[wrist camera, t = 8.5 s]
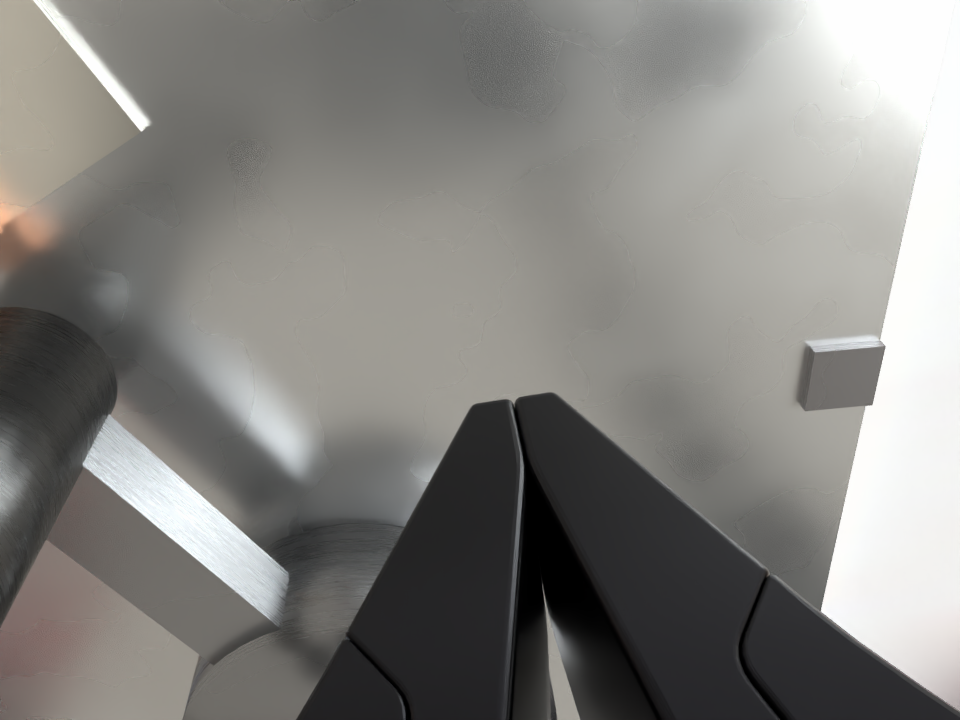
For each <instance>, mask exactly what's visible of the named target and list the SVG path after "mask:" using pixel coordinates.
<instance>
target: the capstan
mask: <svg viewBox="0 0 960 720" xmlns="http://www.w3.org/2000/svg"><path fill="white" fill-rule="evenodd" d="M117 393H118V386H117V378H116V374H115V371H114V368H113V366H112V363H111V361H110V360H109V358H108V356H107V355H106V353H105V352H104V350H103V349H102V348H101V347H100V345H99V344H98V343H97V342H96V341H95V340H94V339H93V338H92V337H91V336H90V335H88V334H87V333H86V332H85V331H84V330H82V329H81V328H79V327H78V326H76V325H75V324H73V323H71V322H69V321H68V320H66V319H64V318H62V317H59V316H57V315H54V314H52V313H49V312H45V311H42V310H38V309H32V308H26V307H1V308H0V628H1V626H2V624H3V622H4V620H5V618H6V616H7V614H8V612H9V610H10V608H11V606H12V605H13V603H14V601H15V599H16V597H17V595H18V593H19V591H20V589H21V587H22V585H23V583H24V581H25V579H26V578H27V576H28V574H29V572H30V570H31V568H32V566H33V564H34V562H35V560H36V558H37V556H38V554H39V552H40V550H41V549H42V547H43V545H44V543H45V541H46V540H48V541H49V542H50V543H52V544H53V545H54V546H56V547H57V548H58V549H60V550H61V551H62V552H64V553H65V554H66V555H68V556H69V557H70V558H72V559H73V560H74V561H76V562H77V563H78V564H80V565H81V566H82V567H84V568H85V569H86V570H88V571H89V572H90V573H92V574H93V575H94V576H95V577H97V578H98V579H99V580H101V581H102V582H103V583H105V584H106V585H107V586H109V587H110V588H111V589H113V590H114V591H115V592H117V593H118V594H119V595H121V596H122V597H123V598H125V599H126V600H127V601H129V602H130V603H131V604H133V605H134V606H135V607H137V608H138V609H139V610H141V611H142V612H143V613H145V614H146V615H147V616H149V617H150V618H151V619H153V620H154V621H155V622H157V623H158V624H159V625H161V626H162V627H163V628H164V629H166V630H167V631H168V632H170V633H171V634H172V635H174V636H175V637H176V638H178V639H179V640H180V641H182V642H183V643H184V644H186V645H187V646H188V647H190V648H191V649H192V650H194V651H195V652H196V653H198V654H199V657H198V661H197V665H196V669H195V672H194V676H193V680H192V684H191V688H190V692H189V696H188V700H187V704H186V708H185V712H184V716H183V719H182V720H296V719H297V717H298V715H299V714H300V712H301V710H302V709H303V707H304V705H305V704H306V702H307V700H308V698H309V697H310V695H311V693H312V692H313V690H314V688H315V687H316V685H317V683H318V682H319V680H320V678H321V677H322V675H323V673H324V671H325V669H326V668H327V666H328V664H329V662H330V660H331V658H332V657H333V655H334V653H335V651H336V649H337V647H338V645H339V644H340V642H341V641H342V640H344V639H346V637H345V635H346V632H347V630H348V628H349V627H350V625H351V623H352V621H353V619H354V617H355V616H356V614H357V612H358V610H359V608H360V607H361V605H362V603H363V601H364V599H365V598H366V596H367V594H368V592H369V590H370V588H371V587H372V585H373V583H374V581H375V579H376V578H377V576H378V574H379V572H380V570H381V568H382V567H383V565H384V563H385V561H386V559H387V558H388V556H389V554H390V552H391V550H392V549H393V547H394V545H395V543H396V541H397V539H398V538H399V536H400V534H401V532H402V530H403V529H404V527H403V526H397V525H391V524H381V523H342V524H335V525H328V526H321V527H317V528H313V529H309V530H305V531H301V532H298V533H295V534H292V535H290V536H287V537H284V538H281V539H279V540H277V541H275V542H273V543H271V544H269V545H267V546H265V547H263V548H262V549H261V548H260V547H259V546H258V545H257V544H256V543H254V542H253V541H252V540H251V539H250V538H249V537H248V536H246V535H245V534H244V533H243V532H242V531H241V530H240V529H238V528H237V527H236V526H235V525H234V524H233V523H232V522H231V521H229V520H228V519H227V518H226V517H225V516H224V515H223V514H221V513H220V512H219V511H218V510H217V509H216V508H215V507H214V506H212V505H211V504H210V503H209V502H208V501H207V500H206V499H204V498H203V497H202V496H201V495H200V494H199V493H198V492H197V491H195V490H194V489H193V488H192V487H191V486H190V485H189V484H187V483H186V482H185V481H184V480H183V479H182V478H181V477H179V476H178V475H177V474H176V473H175V472H174V471H173V470H172V469H170V468H169V467H168V466H167V465H166V464H165V463H164V462H162V461H161V460H160V459H159V458H158V457H157V456H156V455H155V454H153V453H152V452H151V451H150V450H149V449H148V448H147V447H145V446H144V445H143V444H142V443H141V442H140V441H139V440H138V439H136V438H135V437H134V436H133V435H132V434H131V433H130V432H128V431H127V430H126V429H125V428H124V427H123V426H122V425H120V424H119V423H118V422H117V421H116V420H115V419H114V418H113V417H111V416H110V415H111V413H112V411H113V409H114V407H115V404H116V400H117ZM549 680H550V707H551V720H557V713H556V706H555V700H554V694H553V689H552V683H551V677H550V671H549Z"/></svg>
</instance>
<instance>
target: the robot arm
mask: <svg viewBox="0 0 960 720" xmlns="http://www.w3.org/2000/svg"><path fill="white" fill-rule="evenodd" d="M514 407H515V408H514ZM542 585H543V586H542ZM543 591H544V594H543ZM544 596H545V601H546V605H547V610H548V615H549V618H550V622H551V626H552V629H553V633H554V637H555V640H556V643H557V646H558V649H559V653H560V656H561V659H562V662H563V666H564V669H565V672H566V675H567V679H568V682H569V685H570V688H571V691H572V695H573V698H574V701H575V704H576V708H577V711H578V714H579V717H580V720H960V711H959V710H957V709H956V708H954V707H953V706H951V705H950V704H948V703H947V702H945V701H944V700H942V699H941V698H939V697H938V696H936V695H935V694H933V693H932V692H930V691H929V690H927V689H926V688H924V687H923V686H921V685H920V684H919V683H917V682H916V681H914V680H913V679H911V678H910V677H909V676H907V675H906V674H904V673H903V672H902V671H900V670H899V669H897V668H896V667H894V666H893V665H892V664H890V663H889V662H887V661H886V660H884V659H883V658H882V657H880V656H879V655H877V654H876V653H875V652H873V651H872V650H870V649H869V648H867V647H866V646H865V645H863V644H862V643H860V642H859V641H857V640H856V639H855V638H854V637H852V636H851V635H850V634H849V633H847V632H846V631H845V630H843V629H842V628H841V627H840V626H838V625H837V624H836V623H834V622H833V621H832V620H831V619H829V618H828V617H827V616H826V615H824V614H823V613H822V612H820V611H819V610H818V609H817V608H815V607H814V606H813V605H811V604H810V603H809V602H808V601H806V600H805V599H804V598H803V597H802V596H800V595H799V594H798V593H797V592H796V591H794V590H793V589H792V588H791V587H789V586H788V585H787V584H786V583H785V582H783V581H782V580H781V579H780V578H779V577H777V576H776V575H769V570H768V569H767V568H766V567H765V566H764V565H762V564H761V563H760V562H759V561H758V560H756V559H755V558H754V557H753V556H752V555H750V554H749V553H748V552H747V551H746V550H744V549H743V548H742V547H741V546H740V545H738V544H737V543H736V542H735V541H734V540H732V539H731V538H730V537H729V536H727V535H726V534H725V533H724V532H723V531H721V530H720V529H719V528H718V527H717V526H715V525H714V524H713V523H712V522H711V521H709V520H708V519H707V518H706V517H705V516H703V515H702V514H701V513H700V512H699V511H697V510H696V509H695V508H694V507H693V506H691V505H690V504H689V503H688V502H687V501H685V500H684V499H683V498H682V497H680V496H679V495H678V494H677V493H676V492H674V491H673V490H672V489H671V488H670V487H668V486H667V485H666V484H665V483H664V482H662V481H661V480H660V479H659V478H658V477H656V476H655V475H654V474H653V473H652V472H650V471H649V470H648V469H647V468H646V467H644V466H643V465H642V464H641V463H639V462H638V461H637V460H636V459H635V458H633V457H632V456H631V455H630V454H629V453H627V452H626V451H625V450H624V449H623V448H621V447H620V446H619V445H618V444H617V443H615V442H614V441H613V440H612V439H611V438H609V437H608V436H607V435H606V434H605V433H603V432H602V431H601V430H600V429H599V428H597V427H596V426H595V425H594V424H592V423H591V422H590V421H589V420H588V419H586V418H585V417H584V416H583V415H582V414H580V413H579V412H578V411H577V410H576V409H574V408H573V407H572V406H571V405H570V404H568V403H567V402H566V401H565V400H564V399H562V398H561V397H560V396H559V395H557V394H556V393H553V392H547V393H541V394H534V395H528V396H522V397H518V398H517V399H516V400H515V403H514V404H513V402H512V401H511V400H508V399H502V400H496V401H489V402H482V403H476V404H474V405H472V406H471V407H470V409H469V411H468V413H467V414H466V416H465V418H464V420H463V422H462V423H461V425H460V427H459V429H458V431H457V432H456V434H455V436H454V438H453V440H452V442H451V443H450V445H449V447H448V449H447V451H446V452H445V454H444V456H443V458H442V460H441V461H440V463H439V465H438V467H437V469H436V471H435V472H434V474H433V476H432V478H431V480H430V481H429V483H428V485H427V487H426V489H425V491H424V492H423V494H422V496H421V498H420V500H419V501H418V503H417V505H416V507H415V509H414V510H413V512H412V514H411V516H410V518H409V520H408V521H407V523H406V525H405V527H404V529H403V530H402V532H401V534H400V536H399V538H398V539H397V541H396V543H395V545H394V547H393V549H392V550H391V552H390V554H389V556H388V558H387V559H386V561H385V563H384V565H383V567H382V568H381V570H380V572H379V574H378V576H377V578H376V579H375V581H374V583H373V585H372V587H371V588H370V590H369V592H368V594H367V596H366V598H365V599H364V601H363V603H362V605H361V607H360V608H359V610H358V612H357V614H356V616H355V617H354V619H353V621H352V623H351V625H350V627H349V628H348V630H347V632H346V635H345V637H346V639H344V640H342V641H341V642H340V644H339V645H338V647H337V649H336V651H335V653H334V655H333V657H332V658H331V660H330V662H329V664H328V666H327V668H326V669H325V671H324V673H323V675H322V677H321V678H320V680H319V682H318V683H317V685H316V687H315V688H314V690H313V692H312V693H311V695H310V697H309V698H308V700H307V702H306V704H305V705H304V707H303V709H302V710H301V712H300V714H299V715H298V717H297V719H296V720H551V707H550V680H549V654H548V632H547V618H546V609H545V601H544Z"/></svg>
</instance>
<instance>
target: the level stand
mask: <svg viewBox="0 0 960 720" xmlns="http://www.w3.org/2000/svg"><path fill="white" fill-rule="evenodd" d="M953 3H954V0H0V308H1V307H26V308H32V309H38V310H42V311H45V312H49V313H52V314H54V315H57V316H59V317H62V318H64V319H66V320H68V321H69V322H71V323H73V324H75V325H76V326H78V327H79V328H81V329H82V330H84V331H85V332H86V333H87V334H88V335H90V336H91V337H92V338H93V339H94V340H95V341H96V342H97V343H98V344H99V345H100V347H101V348H102V349H103V350H104V352H105V353H106V355H107V356H108V358H109V360H110V361H111V363H112V366H113V368H114V371H115V374H116V378H117V386H118V393H117V400H116V404H115V407H114V409H113V411H112V413H111V415H110V416H111V417H113V418H114V419H115V420H116V421H117V422H118V423H119V424H120V425H122V426H123V427H124V428H125V429H126V430H127V431H128V432H130V433H131V434H132V435H133V436H134V437H135V438H136V439H138V440H139V441H140V442H141V443H142V444H143V445H144V446H145V447H147V448H148V449H149V450H150V451H151V452H152V453H153V454H155V455H156V456H157V457H158V458H159V459H160V460H161V461H162V462H164V463H165V464H166V465H167V466H168V467H169V468H170V469H172V470H173V471H174V472H175V473H176V474H177V475H178V476H179V477H181V478H182V479H183V480H184V481H185V482H186V483H187V484H189V485H190V486H191V487H192V488H193V489H194V490H195V491H197V492H198V493H199V494H200V495H201V496H202V497H203V498H204V499H206V500H207V501H208V502H209V503H210V504H211V505H212V506H214V507H215V508H216V509H217V510H218V511H219V512H220V513H221V514H223V515H224V516H225V517H226V518H227V519H228V520H229V521H231V522H232V523H233V524H234V525H235V526H236V527H237V528H238V529H240V530H241V531H242V532H243V533H244V534H245V535H246V536H248V537H249V538H250V539H251V540H252V541H253V542H254V543H256V544H257V545H258V546H259V547H260V548H261V549H262V548H263V547H265V546H267V545H269V544H271V543H273V542H275V541H277V540H279V539H281V538H284V537H287V536H290V535H292V534H295V533H298V532H301V531H305V530H309V529H313V528H317V527H321V526H328V525H335V524H342V523H381V524H391V525H397V526H403V527H405V525H406V523H407V521H408V520H409V518H410V516H411V514H412V512H413V510H414V509H415V507H416V505H417V503H418V501H419V500H420V498H421V496H422V494H423V492H424V491H425V489H426V487H427V485H428V483H429V481H430V480H431V478H432V476H433V474H434V472H435V471H436V469H437V467H438V465H439V463H440V461H441V460H442V458H443V456H444V454H445V452H446V451H447V449H448V447H449V445H450V443H451V442H452V440H453V438H454V436H455V434H456V432H457V431H458V429H459V427H460V425H461V423H462V422H463V420H464V418H465V416H466V414H467V413H468V411H469V409H470V407H471V406H472V405H474V404H476V403H482V402H489V401H496V400H502V399H508V400H511V401H512V402H513V404H514V403H515V400H516V399H517V398H518V397H522V396H528V395H534V394H541V393H547V392H553V393H556V394H557V395H559V396H560V397H561V398H562V399H564V400H565V401H566V402H567V403H568V404H570V405H571V406H572V407H573V408H574V409H576V410H577V411H578V412H579V413H580V414H582V415H583V416H584V417H585V418H586V419H588V420H589V421H590V422H591V423H592V424H594V425H595V426H596V427H597V428H599V429H600V430H601V431H602V432H603V433H605V434H606V435H607V436H608V437H609V438H611V439H612V440H613V441H614V442H615V443H617V444H618V445H619V446H620V447H621V448H623V449H624V450H625V451H626V452H627V453H629V454H630V455H631V456H632V457H633V458H635V459H636V460H637V461H638V462H639V463H641V464H642V465H643V466H644V467H646V468H647V469H648V470H649V471H650V472H652V473H653V474H654V475H655V476H656V477H658V478H659V479H660V480H661V481H662V482H664V483H665V484H666V485H667V486H668V487H670V488H671V489H672V490H673V491H674V492H676V493H677V494H678V495H679V496H680V497H682V498H683V499H684V500H685V501H687V502H688V503H689V504H690V505H691V506H693V507H694V508H695V509H696V510H697V511H699V512H700V513H701V514H702V515H703V516H705V517H706V518H707V519H708V520H709V521H711V522H712V523H713V524H714V525H715V526H717V527H718V528H719V529H720V530H721V531H723V532H724V533H725V534H726V535H727V536H729V537H730V538H731V539H732V540H734V541H735V542H736V543H737V544H738V545H740V546H741V547H742V548H743V549H744V550H746V551H747V552H748V553H749V554H750V555H752V556H753V557H754V558H755V559H756V560H758V561H759V562H760V563H761V564H762V565H764V566H765V567H766V568H767V569H768V570H769V575H776V576H777V577H779V578H780V579H781V580H782V581H783V582H785V583H786V584H787V585H788V586H789V587H791V588H792V589H793V590H794V591H796V592H797V593H798V594H799V595H800V596H802V597H803V598H804V599H805V600H806V601H808V602H809V603H810V604H811V605H813V606H814V607H815V608H817V609H818V610H819V611H821V607H822V602H823V597H824V593H825V588H826V584H827V579H828V575H829V570H830V565H831V561H832V556H833V552H834V547H835V543H836V538H837V533H838V529H839V524H840V520H841V515H842V511H843V506H844V501H845V497H846V492H847V488H848V483H849V479H850V474H851V469H852V465H853V460H854V456H855V451H856V447H857V442H858V437H859V433H860V428H861V424H862V419H863V415H864V410H865V406H868V405H872V404H873V400H874V395H875V391H876V386H877V382H878V377H879V373H880V368H881V364H882V360H883V355H884V351H885V345H884V344H883V343H882V342H881V341H880V337H881V332H882V328H883V323H884V319H885V314H886V309H887V305H888V300H889V296H890V291H891V287H892V282H893V278H894V273H895V268H896V264H897V259H898V255H899V250H900V246H901V241H902V236H903V232H904V227H905V223H906V218H907V214H908V209H909V204H910V200H911V195H912V191H913V186H914V182H915V177H916V172H917V168H918V163H919V159H920V154H921V150H922V145H923V140H924V136H925V131H926V127H927V122H928V118H929V113H930V108H931V104H932V99H933V95H934V90H935V86H936V81H937V76H938V72H939V67H940V63H941V58H942V54H943V49H944V44H945V40H946V35H947V31H948V26H949V22H950V17H951V12H952V8H953ZM514 408H515V407H514ZM542 586H543V585H542ZM543 594H544V591H543ZM544 601H545V596H544ZM545 609H546V618H547V632H548V654H549V671H550V677H551V683H552V689H553V694H554V700H555V706H556V713H557V720H580V717H579V714H578V711H577V708H576V704H575V701H574V698H573V695H572V691H571V688H570V685H569V682H568V679H567V675H566V672H565V669H564V666H563V662H562V659H561V656H560V653H559V649H558V646H557V643H556V640H555V637H554V633H553V629H552V626H551V622H550V618H549V615H548V610H547V605H546V601H545ZM198 657H199V654H198V653H196V652H195V651H194V650H192V649H191V648H190V647H188V646H187V645H186V644H184V643H183V642H182V641H180V640H179V639H178V638H176V637H175V636H174V635H172V634H171V633H170V632H168V631H167V630H166V629H164V628H163V627H162V626H161V625H159V624H158V623H157V622H155V621H154V620H153V619H151V618H150V617H149V616H147V615H146V614H145V613H143V612H142V611H141V610H139V609H138V608H137V607H135V606H134V605H133V604H131V603H130V602H129V601H127V600H126V599H125V598H123V597H122V596H121V595H119V594H118V593H117V592H115V591H114V590H113V589H111V588H110V587H109V586H107V585H106V584H105V583H103V582H102V581H101V580H99V579H98V578H97V577H95V576H94V575H93V574H92V573H90V572H89V571H88V570H86V569H85V568H84V567H82V566H81V565H80V564H78V563H77V562H76V561H74V560H73V559H72V558H70V557H69V556H68V555H66V554H65V553H64V552H62V551H61V550H60V549H58V548H57V547H56V546H54V545H53V544H52V543H50V542H49V541H48V540H46V541H45V543H44V545H43V547H42V549H41V550H40V552H39V554H38V556H37V558H36V560H35V562H34V564H33V566H32V568H31V570H30V572H29V574H28V576H27V578H26V579H25V581H24V583H23V585H22V587H21V589H20V591H19V593H18V595H17V597H16V599H15V601H14V603H13V605H12V606H11V608H10V610H9V612H8V614H7V616H6V618H5V620H4V622H3V624H2V626H1V628H0V720H182V719H183V716H184V712H185V708H186V704H187V700H188V696H189V692H190V688H191V684H192V680H193V676H194V672H195V669H196V665H197V661H198Z"/></svg>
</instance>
